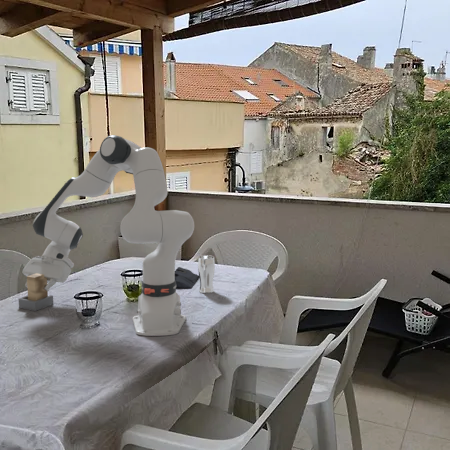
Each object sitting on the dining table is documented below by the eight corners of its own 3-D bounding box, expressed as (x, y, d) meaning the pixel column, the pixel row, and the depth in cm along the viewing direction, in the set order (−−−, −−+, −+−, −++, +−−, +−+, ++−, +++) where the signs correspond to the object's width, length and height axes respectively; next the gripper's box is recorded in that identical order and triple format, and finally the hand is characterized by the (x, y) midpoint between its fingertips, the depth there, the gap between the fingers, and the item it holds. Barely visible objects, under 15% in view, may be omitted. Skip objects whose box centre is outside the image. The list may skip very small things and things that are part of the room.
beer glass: (215, 289, 216) (215, 255, 213) (213, 294, 209) (213, 259, 206) (199, 288, 216) (199, 254, 214) (197, 293, 209) (196, 258, 207)
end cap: (37, 301, 198) (36, 292, 198) (53, 304, 195) (53, 295, 194) (19, 307, 190) (18, 298, 190) (35, 311, 187) (35, 302, 186)
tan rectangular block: (40, 302, 197) (38, 272, 195) (48, 303, 195) (46, 273, 193) (28, 306, 192) (26, 276, 190) (36, 308, 190) (34, 277, 188)
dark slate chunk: (157, 289, 217) (157, 278, 216) (169, 275, 239) (169, 265, 238) (192, 290, 215) (192, 279, 215) (201, 276, 237) (201, 267, 236)
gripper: (29, 251, 201) (11, 280, 194) (69, 256, 192) (51, 287, 185) (38, 259, 206) (21, 288, 198) (77, 265, 197) (60, 296, 190)
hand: (36, 288), depth 192 cm, fingers open, 8 cm apart
